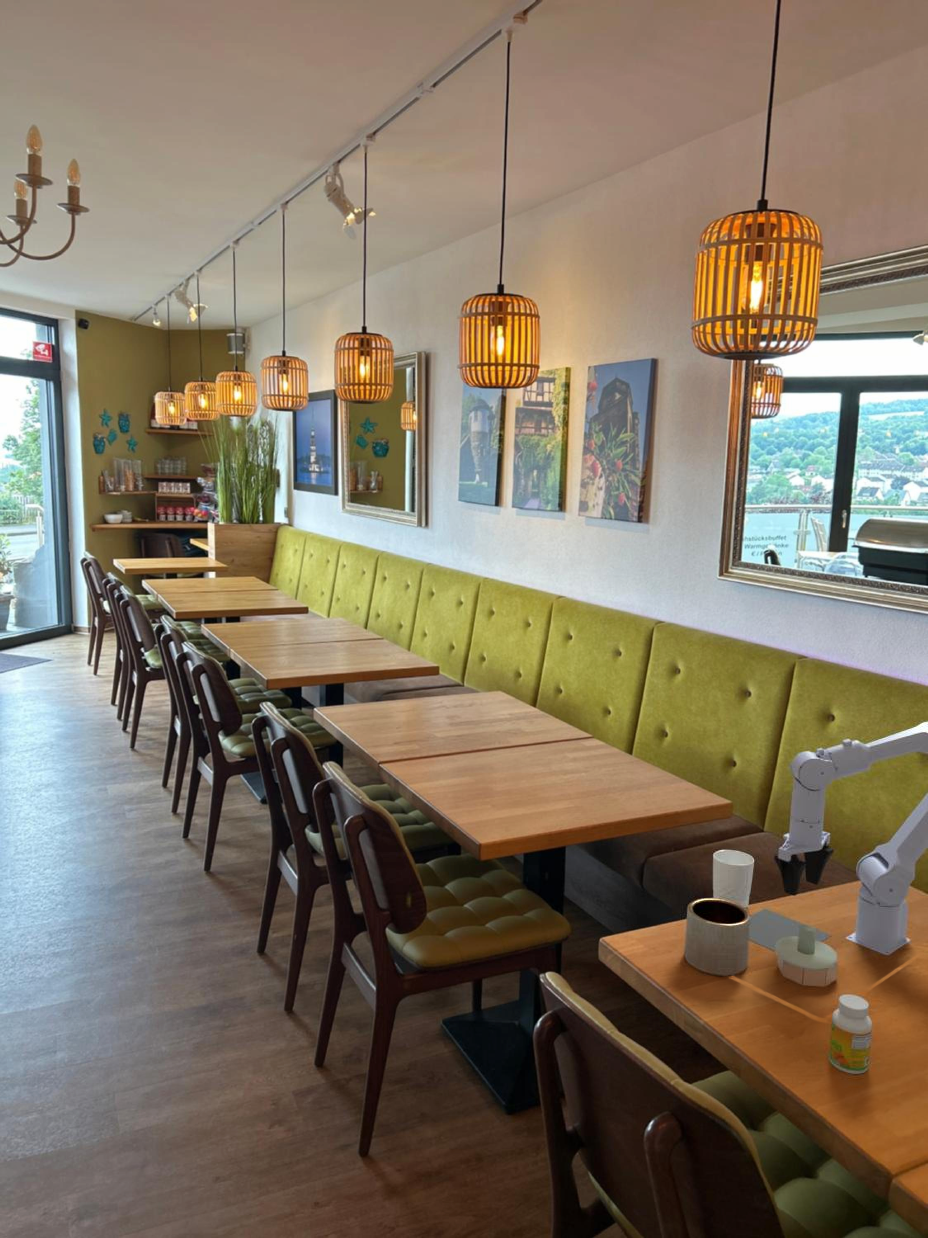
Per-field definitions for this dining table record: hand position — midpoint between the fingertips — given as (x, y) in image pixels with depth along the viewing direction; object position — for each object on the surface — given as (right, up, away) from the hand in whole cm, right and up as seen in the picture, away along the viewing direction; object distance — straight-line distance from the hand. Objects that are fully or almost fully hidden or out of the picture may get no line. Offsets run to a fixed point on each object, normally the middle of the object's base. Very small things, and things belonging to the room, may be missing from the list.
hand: (801, 888), depth 168 cm
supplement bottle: (-7, -15, -36) cm, 40 cm away
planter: (-18, -11, -8) cm, 23 cm away
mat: (-4, -10, +2) cm, 11 cm away
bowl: (-4, -12, -12) cm, 17 cm away
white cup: (-9, -8, +15) cm, 19 cm away
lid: (-4, -8, -12) cm, 15 cm away
